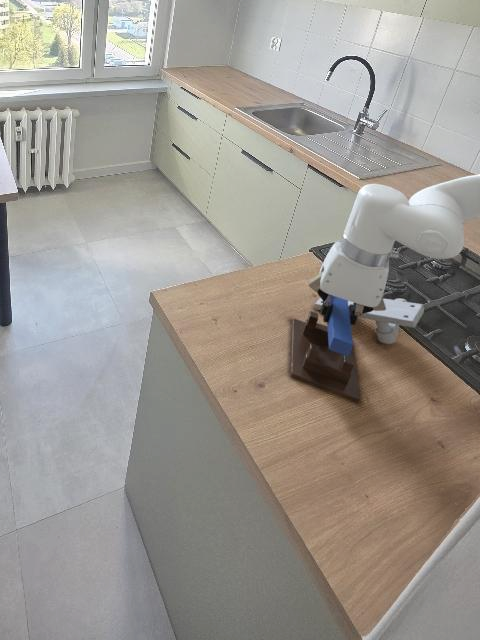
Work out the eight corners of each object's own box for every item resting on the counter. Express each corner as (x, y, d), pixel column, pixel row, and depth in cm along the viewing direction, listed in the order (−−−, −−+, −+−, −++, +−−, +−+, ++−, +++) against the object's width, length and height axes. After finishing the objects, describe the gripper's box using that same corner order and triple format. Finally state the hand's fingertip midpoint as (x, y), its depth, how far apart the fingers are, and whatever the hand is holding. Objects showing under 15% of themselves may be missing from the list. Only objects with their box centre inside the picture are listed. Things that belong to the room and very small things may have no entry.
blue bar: (341, 296, 90) (345, 285, 89) (348, 356, 76) (353, 344, 75) (325, 291, 91) (329, 280, 90) (328, 349, 78) (333, 337, 76)
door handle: (324, 335, 100) (424, 358, 84) (314, 303, 100) (412, 321, 84) (353, 299, 111) (447, 313, 94) (344, 270, 110) (437, 280, 94)
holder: (350, 341, 92) (359, 320, 89) (358, 402, 80) (368, 379, 77) (292, 321, 97) (299, 300, 94) (290, 376, 84) (298, 353, 81)
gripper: (412, 250, 76) (379, 322, 84) (314, 224, 82) (292, 293, 90) (422, 277, 70) (386, 352, 78) (315, 246, 76) (291, 319, 84)
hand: (335, 320), depth 84 cm, fingers closed on blue bar, 3 cm apart
